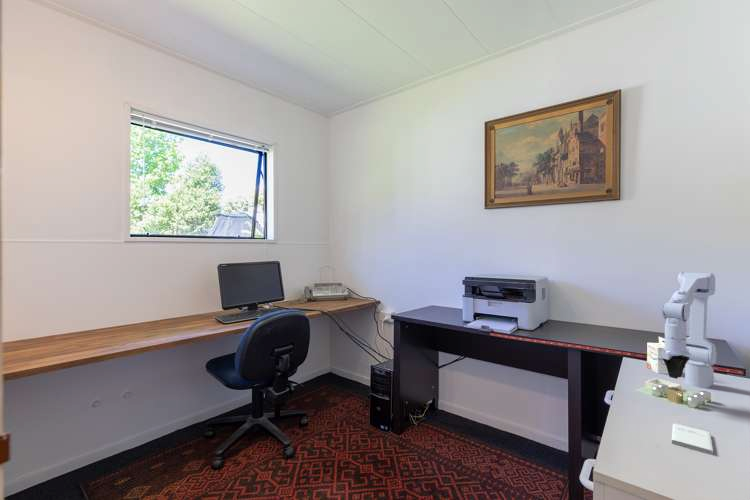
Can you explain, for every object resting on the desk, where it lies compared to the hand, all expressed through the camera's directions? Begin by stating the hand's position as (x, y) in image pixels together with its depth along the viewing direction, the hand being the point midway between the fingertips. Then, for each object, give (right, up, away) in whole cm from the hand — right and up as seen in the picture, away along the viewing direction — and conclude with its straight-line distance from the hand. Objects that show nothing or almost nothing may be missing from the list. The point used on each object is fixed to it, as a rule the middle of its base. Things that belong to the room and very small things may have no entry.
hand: (675, 377), depth 121 cm
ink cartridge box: (+18, -9, +30) cm, 37 cm away
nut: (0, -8, 0) cm, 8 cm away
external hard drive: (-15, -10, -23) cm, 30 cm away
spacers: (+4, -8, +2) cm, 9 cm away
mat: (+4, -9, +5) cm, 11 cm away
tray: (+5, -8, +11) cm, 15 cm away
